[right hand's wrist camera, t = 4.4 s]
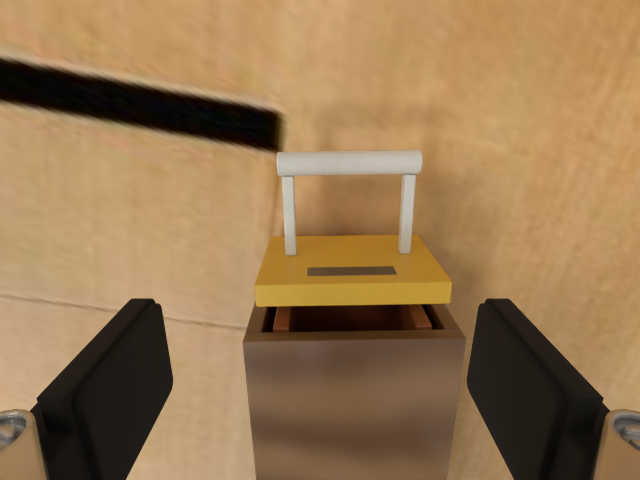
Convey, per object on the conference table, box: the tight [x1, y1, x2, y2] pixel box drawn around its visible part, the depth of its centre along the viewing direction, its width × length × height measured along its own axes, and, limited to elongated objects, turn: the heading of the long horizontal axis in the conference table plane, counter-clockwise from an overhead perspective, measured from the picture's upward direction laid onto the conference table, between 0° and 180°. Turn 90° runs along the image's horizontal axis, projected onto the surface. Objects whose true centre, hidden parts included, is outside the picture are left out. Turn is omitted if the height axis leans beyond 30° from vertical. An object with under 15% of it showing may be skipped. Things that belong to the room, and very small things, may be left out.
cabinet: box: [243, 301, 466, 480], centre depth 25 cm, size 21×10×9 cm, turn 1°
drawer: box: [255, 150, 452, 332], centre depth 23 cm, size 26×9×7 cm, turn 1°
